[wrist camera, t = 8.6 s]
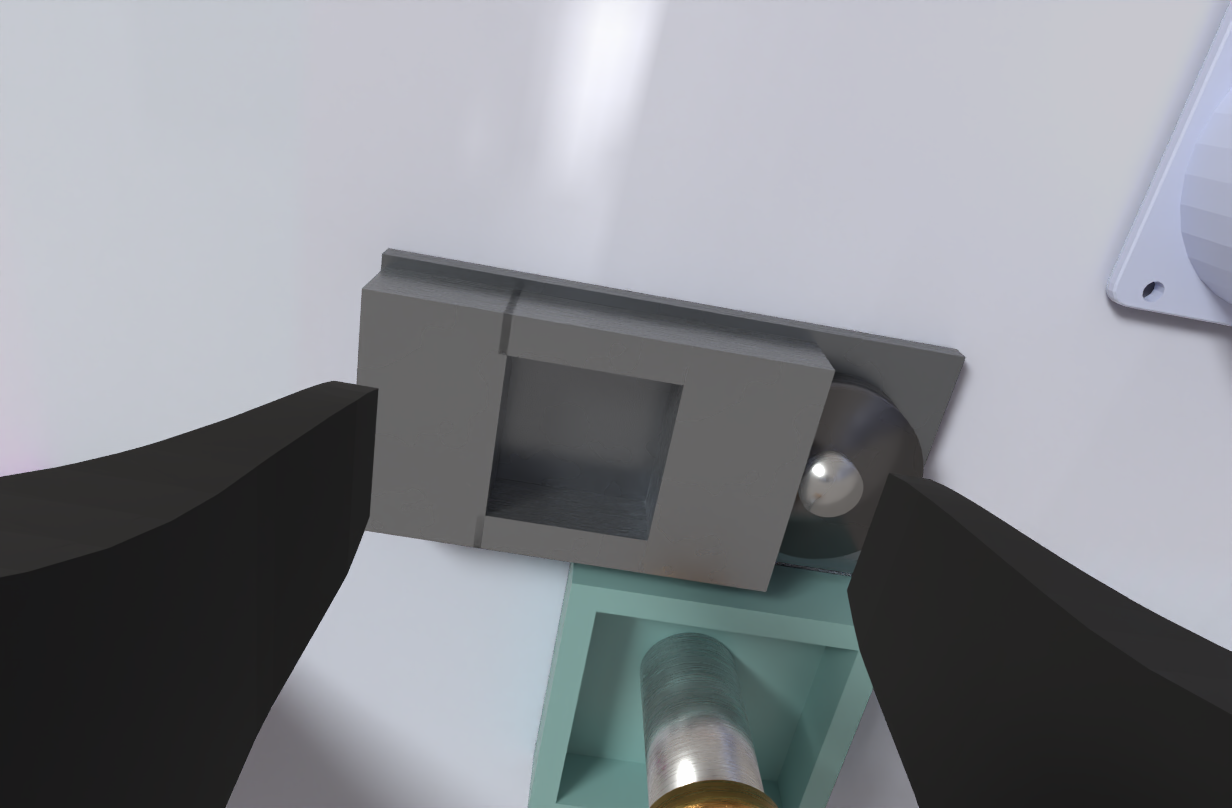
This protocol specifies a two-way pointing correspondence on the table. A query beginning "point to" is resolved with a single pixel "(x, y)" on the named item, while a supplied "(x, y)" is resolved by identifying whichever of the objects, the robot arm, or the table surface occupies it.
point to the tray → (766, 667)
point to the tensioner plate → (633, 423)
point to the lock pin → (697, 727)
